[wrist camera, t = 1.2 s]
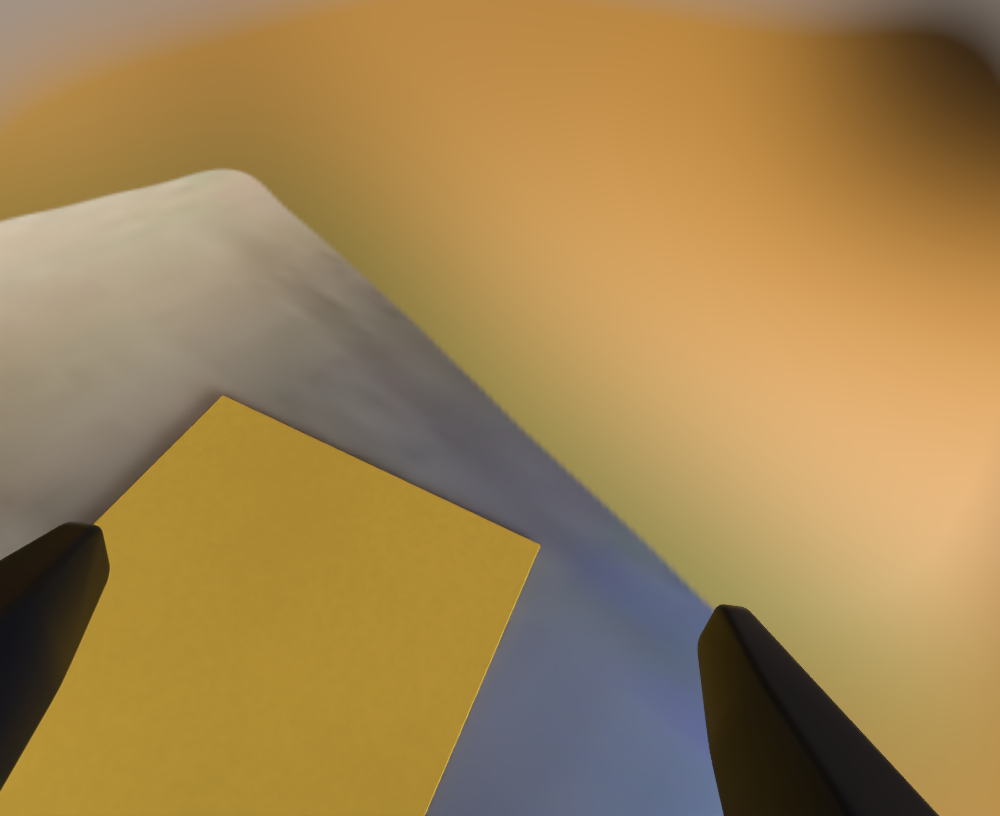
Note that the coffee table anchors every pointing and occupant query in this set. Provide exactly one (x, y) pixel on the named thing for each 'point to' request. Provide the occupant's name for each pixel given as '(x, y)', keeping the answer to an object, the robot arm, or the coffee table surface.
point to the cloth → (272, 637)
